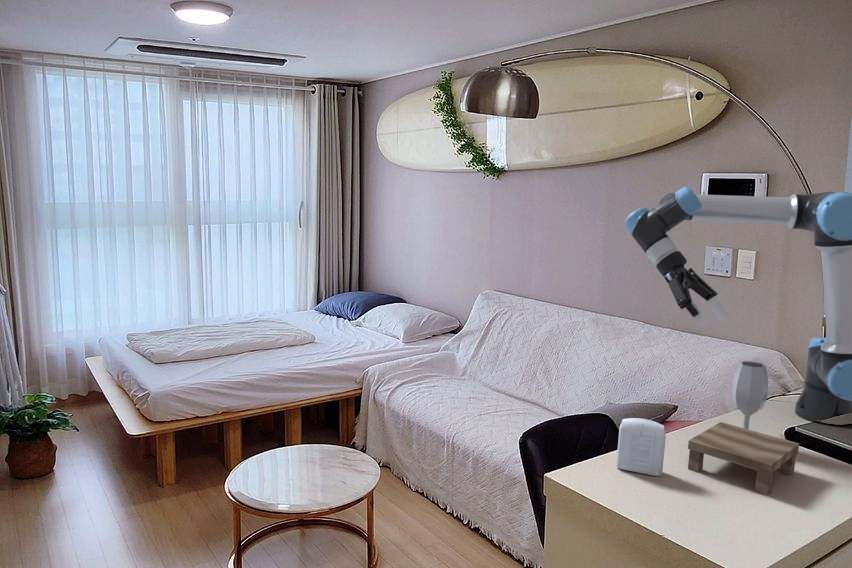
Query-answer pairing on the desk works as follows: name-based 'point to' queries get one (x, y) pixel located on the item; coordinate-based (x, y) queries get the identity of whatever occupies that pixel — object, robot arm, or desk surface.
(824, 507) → the desk surface
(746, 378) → the wineglass
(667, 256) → the robot arm
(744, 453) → the footstool
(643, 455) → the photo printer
